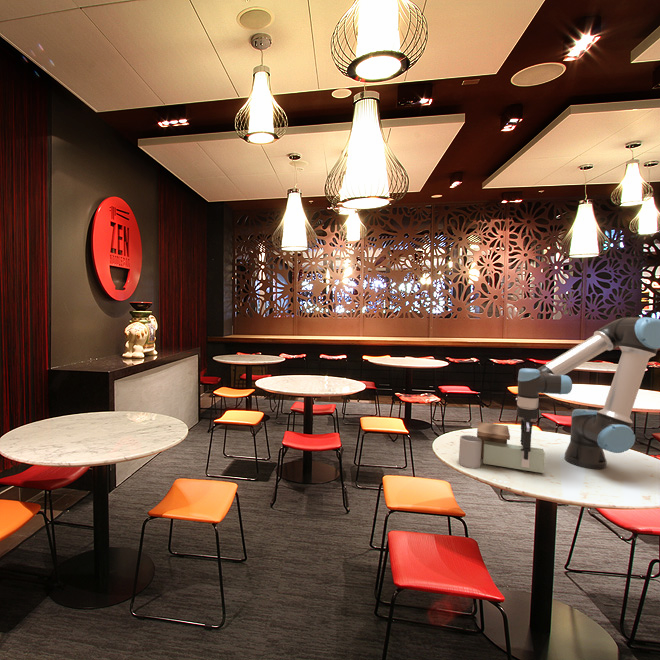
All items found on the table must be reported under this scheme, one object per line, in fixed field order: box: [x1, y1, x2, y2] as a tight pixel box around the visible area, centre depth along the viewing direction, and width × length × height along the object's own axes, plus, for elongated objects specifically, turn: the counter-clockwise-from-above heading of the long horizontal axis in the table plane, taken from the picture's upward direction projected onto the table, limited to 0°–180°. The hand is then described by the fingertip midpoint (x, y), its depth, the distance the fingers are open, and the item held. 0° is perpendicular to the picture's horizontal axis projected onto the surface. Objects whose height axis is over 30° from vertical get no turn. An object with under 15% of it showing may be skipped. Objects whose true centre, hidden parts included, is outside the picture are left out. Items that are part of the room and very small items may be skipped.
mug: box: [458, 434, 482, 469], centre depth 160 cm, size 12×8×11 cm
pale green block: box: [482, 441, 546, 474], centre depth 155 cm, size 22×5×8 cm, turn 68°
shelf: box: [476, 421, 511, 459], centre depth 159 cm, size 12×16×15 cm
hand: (524, 464), depth 154 cm, fingers closed on pale green block, 5 cm apart
